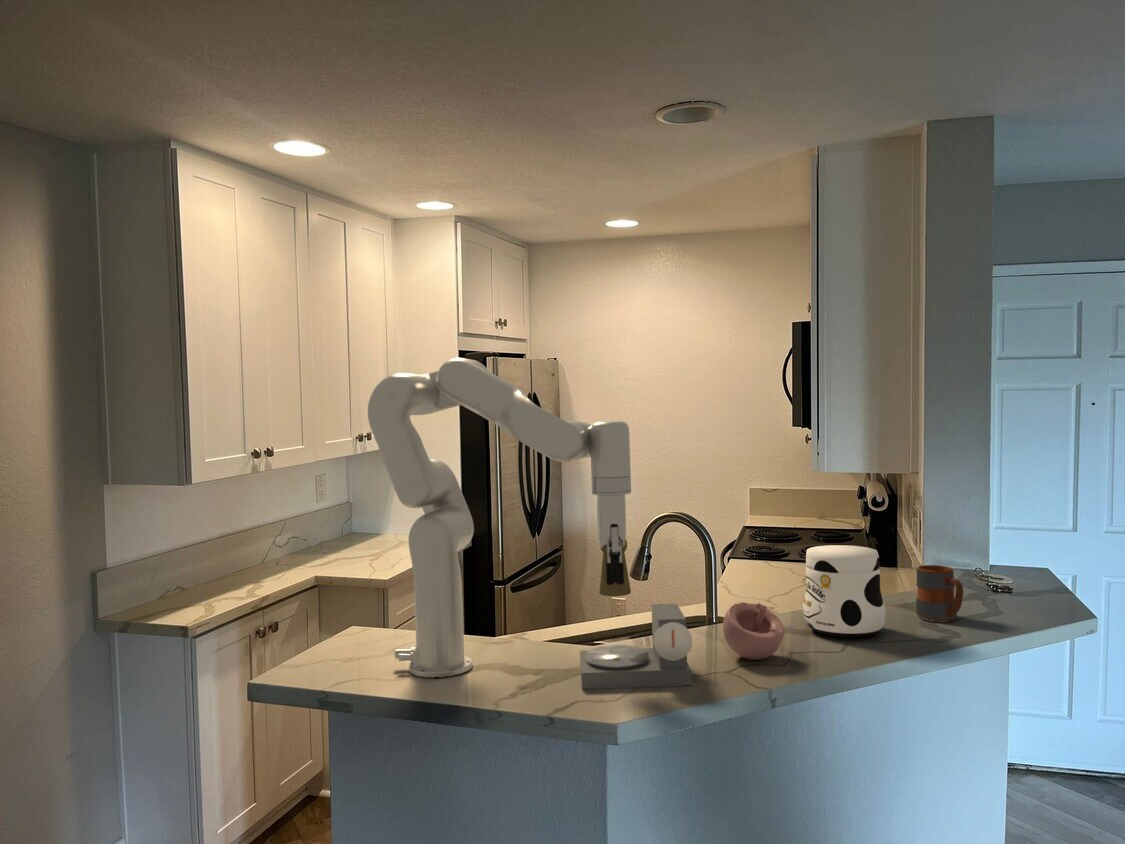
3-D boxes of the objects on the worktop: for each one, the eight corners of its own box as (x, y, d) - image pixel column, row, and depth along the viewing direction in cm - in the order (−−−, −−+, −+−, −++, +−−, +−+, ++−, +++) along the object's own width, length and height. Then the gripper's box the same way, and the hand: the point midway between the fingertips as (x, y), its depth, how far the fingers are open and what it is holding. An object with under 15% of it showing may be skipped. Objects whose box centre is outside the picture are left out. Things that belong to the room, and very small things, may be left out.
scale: (581, 689, 148) (579, 623, 148) (580, 665, 162) (578, 605, 162) (694, 685, 148) (692, 620, 148) (682, 662, 162) (680, 602, 162)
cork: (605, 597, 152) (603, 538, 151) (595, 590, 157) (593, 534, 157) (635, 594, 153) (633, 536, 153) (624, 588, 159) (622, 531, 159)
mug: (948, 628, 180) (946, 575, 180) (907, 616, 192) (906, 566, 191) (977, 623, 183) (976, 571, 183) (936, 612, 194) (935, 563, 194)
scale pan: (586, 670, 149) (586, 664, 149) (584, 651, 161) (584, 646, 161) (651, 667, 149) (651, 662, 149) (645, 649, 161) (645, 644, 161)
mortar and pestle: (755, 671, 155) (753, 611, 155) (711, 657, 165) (709, 600, 165) (797, 659, 162) (796, 602, 162) (753, 646, 172) (751, 592, 172)
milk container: (787, 631, 182) (785, 551, 182) (833, 617, 193) (831, 541, 192) (856, 647, 168) (854, 561, 168) (901, 631, 179) (899, 550, 179)
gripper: (590, 482, 163) (593, 573, 164) (593, 490, 147) (596, 592, 147) (627, 481, 163) (630, 572, 164) (634, 489, 147) (638, 590, 147)
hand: (614, 580), depth 155 cm, fingers closed on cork, 4 cm apart
